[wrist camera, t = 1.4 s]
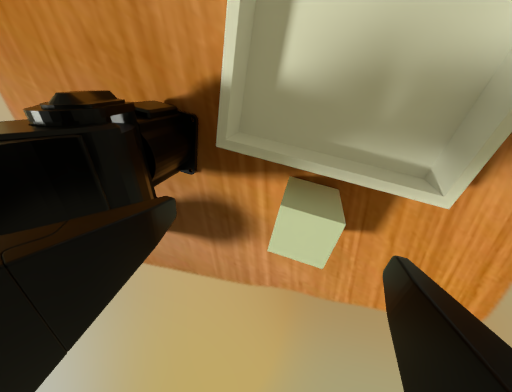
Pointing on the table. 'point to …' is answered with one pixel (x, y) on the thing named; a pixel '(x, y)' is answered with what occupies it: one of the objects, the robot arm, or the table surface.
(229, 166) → the table surface
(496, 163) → the table surface
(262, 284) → the table surface
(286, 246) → the sage block
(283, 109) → the bin
